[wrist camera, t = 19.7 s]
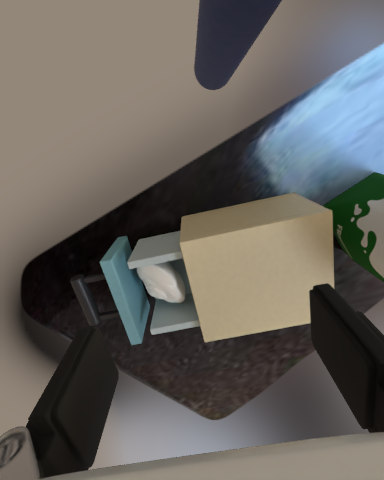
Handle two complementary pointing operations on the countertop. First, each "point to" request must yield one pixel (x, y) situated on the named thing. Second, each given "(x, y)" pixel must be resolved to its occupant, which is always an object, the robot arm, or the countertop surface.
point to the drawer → (139, 287)
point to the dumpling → (163, 282)
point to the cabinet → (257, 263)
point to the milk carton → (361, 223)
